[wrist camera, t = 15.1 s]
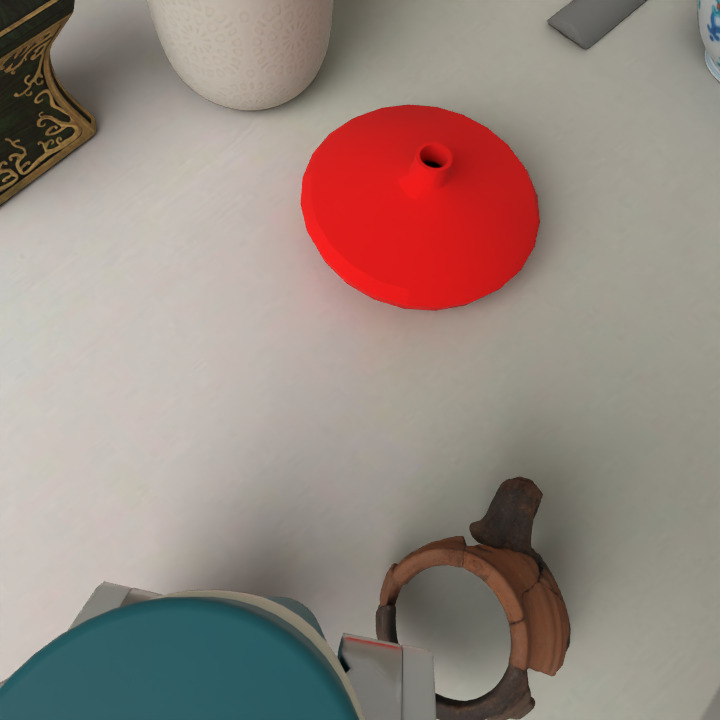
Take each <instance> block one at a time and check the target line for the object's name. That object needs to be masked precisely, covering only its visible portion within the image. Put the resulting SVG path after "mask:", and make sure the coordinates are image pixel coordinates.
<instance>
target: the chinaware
mask: <svg viewBox="0 0 720 720" xmlns="http://www.w3.org/2000/svg"><path fill="white" fill-rule="evenodd" d="M697 15H698V25H699V30H700V34H701V38H702V40H703V43H704V45H705V48H706V50H705V62H706V65H707V67H708V69H709V71H710V72H711V73H712V75H713V76H714V77H715V78H716V79H717V80H718V81H719V82H720V0H698V4H697Z"/></svg>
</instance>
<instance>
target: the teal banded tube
mask: <svg viewBox="0 0 720 720" xmlns="http://www.w3.org/2000/svg"><path fill="white" fill-rule="evenodd" d="M0 720H365V717H364V715H363V712H362V709H361V707H360V704H359V701H358V698H357V696H356V693H355V691H354V689H353V687H352V685H351V683H350V681H349V679H348V677H347V675H346V673H345V671H344V669H343V668H342V666H341V664H340V662H339V660H338V658H337V657H336V655H335V654H334V652H333V651H332V649H331V648H330V647H329V645H328V644H327V642H326V640H325V637H324V635H323V633H322V630H321V628H320V626H319V623H318V621H317V620H316V618H315V616H314V615H313V614H312V612H311V611H310V610H309V609H308V608H307V607H305V606H304V605H303V604H301V603H300V602H298V601H296V600H293V599H290V598H286V597H259V596H256V595H252V594H248V593H240V592H233V591H221V590H191V591H184V592H177V593H171V594H166V595H163V596H160V597H156V598H153V599H149V600H144V601H139V602H135V603H132V604H128V605H125V606H121V607H118V608H114V609H112V610H109V611H107V612H105V613H102V614H100V615H97V616H95V617H93V618H90V619H88V620H86V621H84V622H82V623H81V624H79V625H77V626H75V627H74V628H72V629H70V630H68V631H67V632H65V633H63V634H61V635H60V636H58V637H57V638H56V639H54V640H53V641H52V642H50V643H49V644H48V645H46V646H45V647H44V648H42V649H41V650H39V651H38V652H37V653H35V654H34V655H33V656H32V657H31V658H30V659H29V660H28V661H27V662H25V663H24V664H23V665H22V666H21V667H20V668H19V669H18V670H17V671H16V672H15V673H13V674H12V675H11V676H10V677H9V678H8V680H7V681H6V682H5V683H4V684H3V685H2V686H1V688H0Z"/></svg>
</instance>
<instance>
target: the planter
mask: <svg viewBox="0 0 720 720" xmlns="http://www.w3.org/2000/svg"><path fill="white" fill-rule="evenodd" d="M147 3H148V7H149V10H150V13H151V16H152V19H153V23H154V26H155V29H156V32H157V35H158V38H159V41H160V43H161V45H162V47H163V50H164V52H165V54H166V56H167V58H168V60H169V62H170V63H171V65H172V66H173V68H174V69H175V71H176V72H177V74H178V75H179V76H180V77H181V79H182V80H183V81H184V82H185V83H186V84H187V85H188V86H189V87H190V88H191V89H192V90H194V91H195V92H196V93H198V94H199V95H201V96H202V97H204V98H205V99H207V100H209V101H211V102H213V103H216V104H218V105H221V106H224V107H228V108H232V109H238V110H262V109H268V108H272V107H275V106H278V105H281V104H283V103H286V102H288V101H289V100H291V99H293V98H294V97H296V96H297V95H299V94H300V93H301V92H302V91H303V90H305V89H306V88H307V87H308V85H309V84H310V83H311V82H312V81H313V79H314V78H315V76H316V75H317V73H318V71H319V69H320V67H321V65H322V63H323V60H324V58H325V55H326V52H327V48H328V43H329V38H330V33H331V23H332V12H333V0H147Z"/></svg>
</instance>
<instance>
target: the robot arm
mask: <svg viewBox="0 0 720 720" xmlns="http://www.w3.org/2000/svg"><path fill="white" fill-rule="evenodd" d="M160 596H163V595H162V594H158V593H153V592H149V591H145V590H141V589H137V588H131V587H126V586H122V585H118V584H114V583H109V582H105V581H104V582H103V583H102V584H101V585H99V586H98V587H97V588H96V589H95V591H94V592H93V594H92V595H91V596H90V598H89V599H88V601H87V602H86V604H85V605H84V607H83V608H82V610H81V611H80V613H79V614H78V616H77V617H76V619H75V620H74V622H73V623H72V625H71V626H70V628H69V629H68V630H70V629H72V628H74V627H75V626H77V625H79V624H81V623H82V622H84V621H86V620H88V619H90V618H93V617H95V616H97V615H100V614H102V613H105V612H107V611H109V610H112V609H114V608H118V607H121V606H125V605H128V604H132V603H135V602H139V601H144V600H149V599H153V598H156V597H160ZM338 660H339V662H340V664H341V666H342V668H343V669H344V671H345V673H346V675H347V677H348V679H349V681H350V683H351V685H352V687H353V689H354V691H355V693H356V696H357V698H358V701H359V704H360V707H361V709H362V712H363V715H364V717H365V720H436V702H435V682H434V661H433V655H432V653H431V651H430V650H425V649H420V648H415V647H410V646H406V645H400V644H397V643H392V642H387V641H382V640H377V639H372V638H367V637H362V636H357V635H352V634H347V633H343V636H342V639H341V642H340V646H339V651H338ZM7 680H8V678H7V679H6V680H4V681H2V682H0V688H1V686H2V685H3V684H4V683H5V682H6V681H7Z"/></svg>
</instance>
